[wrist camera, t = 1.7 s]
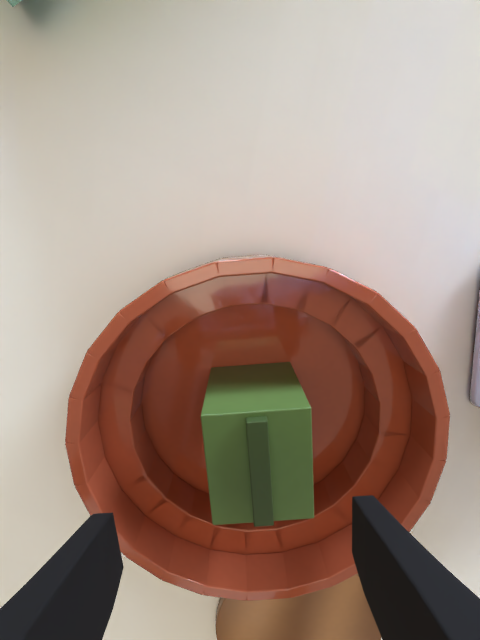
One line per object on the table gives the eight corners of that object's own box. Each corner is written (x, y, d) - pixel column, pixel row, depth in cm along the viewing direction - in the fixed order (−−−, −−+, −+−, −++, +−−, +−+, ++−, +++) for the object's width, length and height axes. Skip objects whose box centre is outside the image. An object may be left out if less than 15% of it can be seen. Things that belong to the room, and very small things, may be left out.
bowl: (403, 243, 16) (464, 242, 12) (392, 513, 20) (437, 589, 15) (83, 267, 16) (27, 275, 12) (131, 531, 20) (100, 611, 16)
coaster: (382, 546, 20) (386, 554, 20) (378, 673, 23) (382, 684, 22) (208, 557, 20) (208, 566, 20) (223, 683, 23) (223, 694, 22)
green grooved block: (290, 361, 17) (314, 412, 12) (293, 445, 18) (317, 527, 13) (210, 367, 17) (198, 420, 12) (219, 450, 18) (211, 534, 13)
